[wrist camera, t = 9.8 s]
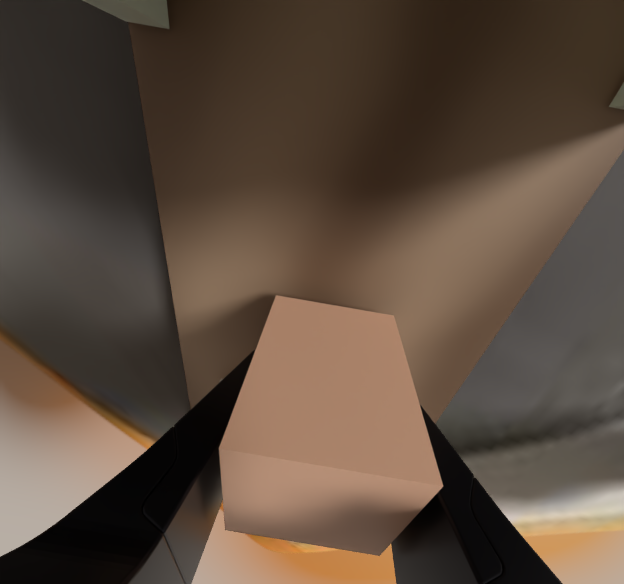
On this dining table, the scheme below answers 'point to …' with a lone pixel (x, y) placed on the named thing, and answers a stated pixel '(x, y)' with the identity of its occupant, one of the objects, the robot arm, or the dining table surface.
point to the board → (372, 163)
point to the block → (327, 432)
